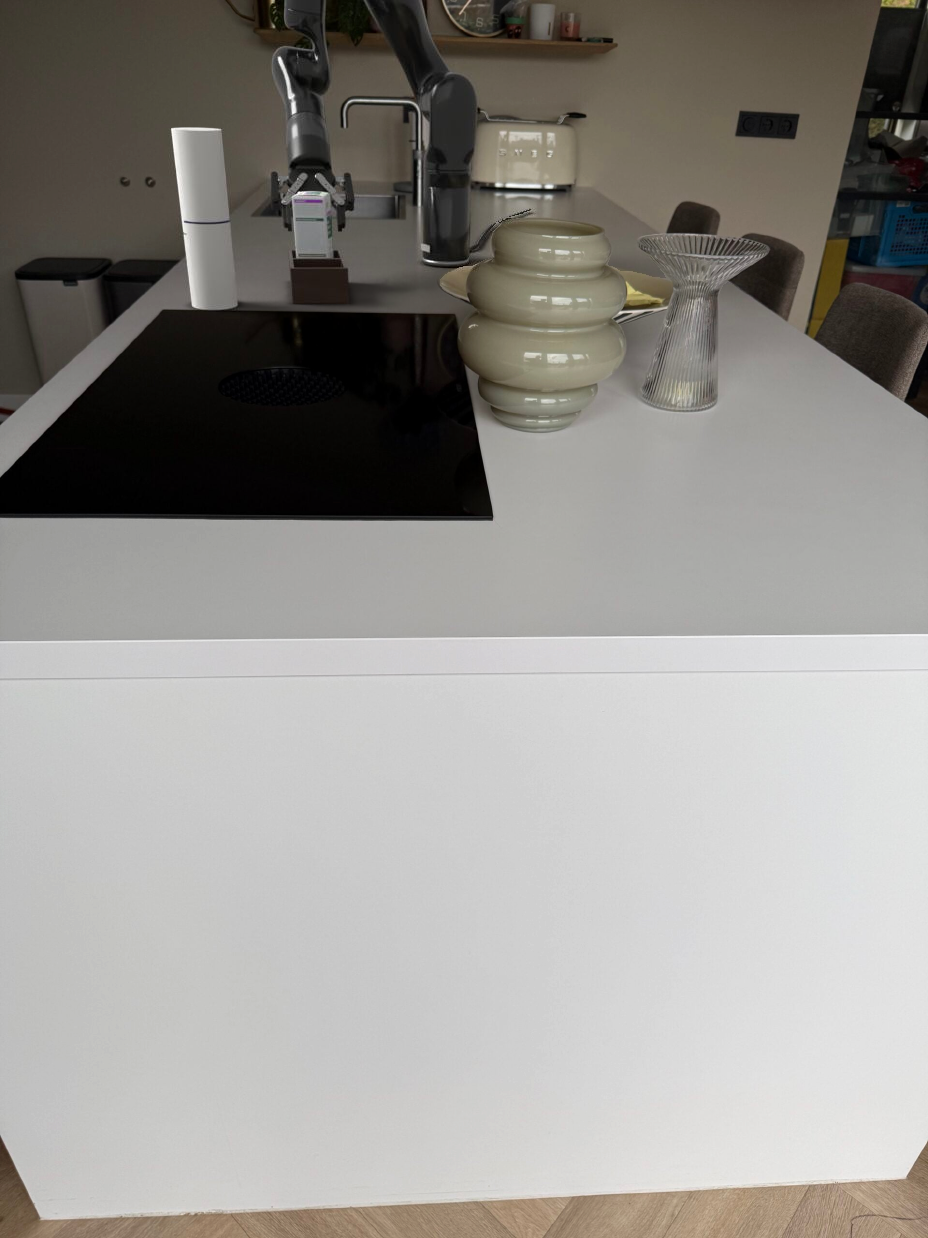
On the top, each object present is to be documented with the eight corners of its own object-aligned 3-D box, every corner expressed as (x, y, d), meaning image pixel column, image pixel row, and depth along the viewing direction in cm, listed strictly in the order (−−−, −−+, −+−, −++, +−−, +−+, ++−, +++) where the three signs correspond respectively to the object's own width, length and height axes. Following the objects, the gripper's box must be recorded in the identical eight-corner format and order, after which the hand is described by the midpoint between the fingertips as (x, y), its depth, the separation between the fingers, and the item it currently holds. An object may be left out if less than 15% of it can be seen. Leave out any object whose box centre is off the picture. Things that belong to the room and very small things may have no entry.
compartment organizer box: (290, 282, 165) (288, 249, 162) (341, 281, 166) (340, 249, 163) (292, 303, 150) (290, 268, 147) (349, 303, 151) (347, 267, 148)
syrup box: (330, 286, 159) (326, 194, 151) (296, 285, 159) (291, 193, 151) (335, 280, 164) (331, 191, 156) (302, 279, 164) (297, 190, 156)
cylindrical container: (211, 311, 143) (192, 130, 130) (182, 304, 146) (160, 127, 134) (247, 304, 148) (231, 129, 135) (217, 298, 151) (200, 126, 139)
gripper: (265, 131, 156) (271, 213, 152) (349, 133, 158) (357, 213, 154) (268, 163, 163) (274, 242, 159) (348, 164, 165) (356, 242, 162)
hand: (315, 228), depth 157 cm, fingers open, 8 cm apart
